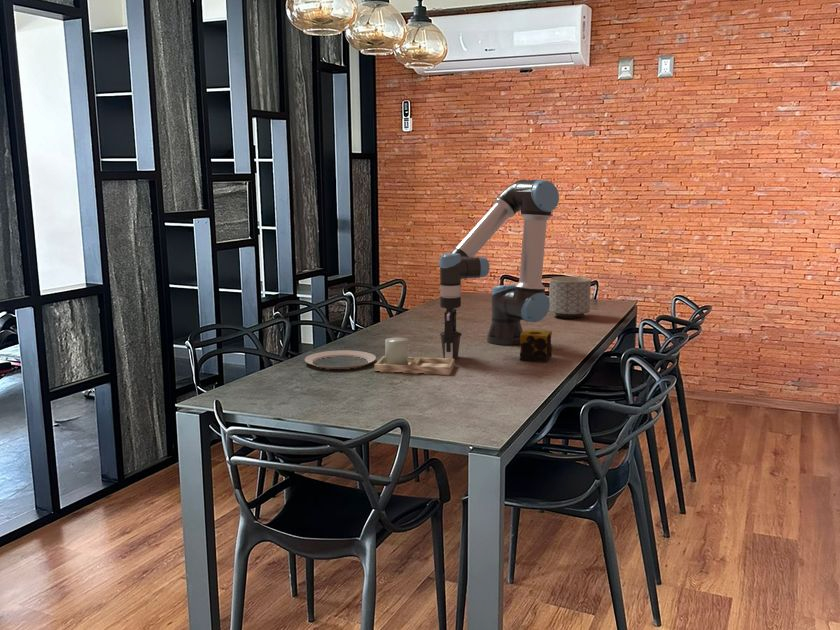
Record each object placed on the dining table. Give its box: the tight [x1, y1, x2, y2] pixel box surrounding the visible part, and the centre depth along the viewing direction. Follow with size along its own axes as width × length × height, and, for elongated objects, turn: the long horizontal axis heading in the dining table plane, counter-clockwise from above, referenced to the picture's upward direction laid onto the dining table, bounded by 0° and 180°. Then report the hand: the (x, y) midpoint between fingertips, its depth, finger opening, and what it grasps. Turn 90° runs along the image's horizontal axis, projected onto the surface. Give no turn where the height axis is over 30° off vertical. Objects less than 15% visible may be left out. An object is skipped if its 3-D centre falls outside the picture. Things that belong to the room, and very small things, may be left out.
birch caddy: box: [373, 355, 456, 376], centre depth 271 cm, size 26×13×2 cm, turn 80°
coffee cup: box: [439, 330, 462, 360], centre depth 285 cm, size 8×8×10 cm
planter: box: [548, 276, 592, 319], centre depth 369 cm, size 19×19×18 cm
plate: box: [304, 349, 377, 370], centre depth 280 cm, size 26×26×2 cm
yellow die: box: [519, 329, 553, 363], centre depth 284 cm, size 10×10×10 cm
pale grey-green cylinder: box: [384, 337, 409, 365], centre depth 271 cm, size 8×8×9 cm
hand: (450, 357), depth 286 cm, fingers closed on coffee cup, 8 cm apart
